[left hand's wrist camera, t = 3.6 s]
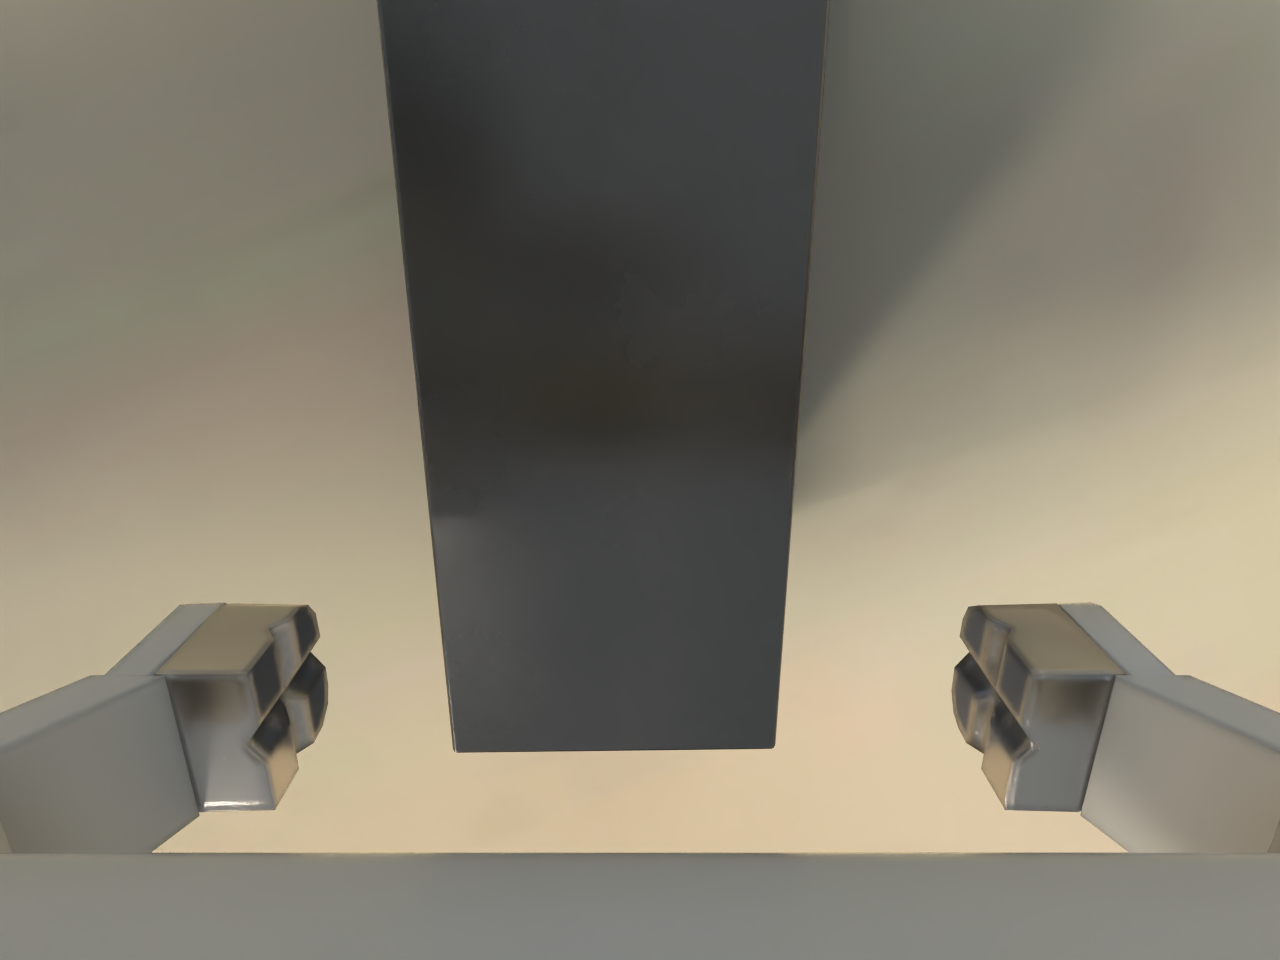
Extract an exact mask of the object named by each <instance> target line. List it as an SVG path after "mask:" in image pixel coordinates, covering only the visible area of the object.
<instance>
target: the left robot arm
mask: <svg viewBox="0 0 1280 960" xmlns="http://www.w3.org/2000/svg"><path fill="white" fill-rule="evenodd" d="M319 638H320V633H319V628H318V623H317V618H316V613H315V612H314V611H313V610H312V609H311V608H310V607H309V605H282V604H226V603H193V604H184V605H179V606H178V607H177V608H176V609H175V610H174V611H173V612H172V613H171V614H170V615H169V616H167V617H166V618H165V619H164V620H163V621H162V622H161V623H160V624H159V625H158V626H157V627H156V628H155V629H153V630H152V631H151V632H150V633H149V634H148V635H147V636H146V637H145V638H144V639H143V640H142V641H141V642H139V643H138V644H137V645H136V646H135V647H134V648H133V649H132V650H131V651H130V652H129V653H128V654H127V655H126V656H124V657H123V658H122V659H121V660H120V661H119V662H118V663H117V664H116V665H115V666H114V667H113V668H112V669H110V670H109V671H108V672H107V673H106V674H105V675H90V676H88V677H86V678H83V679H81V680H78V681H76V682H74V683H71V684H69V685H66V686H64V687H62V688H59V689H57V690H54V691H52V692H50V693H47V694H45V695H42V696H40V697H38V698H35V699H33V700H30V701H28V702H26V703H23V704H21V705H18V706H16V707H14V708H11V709H9V710H6V711H4V712H1V713H0V960H1280V713H1278V712H1276V711H1274V710H1271V709H1269V708H1266V707H1264V706H1262V705H1259V704H1257V703H1254V702H1252V701H1250V700H1247V699H1245V698H1242V697H1240V696H1238V695H1235V694H1233V693H1230V692H1228V691H1226V690H1223V689H1221V688H1218V687H1216V686H1214V685H1211V684H1209V683H1206V682H1204V681H1202V680H1199V679H1197V678H1194V677H1192V676H1190V675H1175V674H1174V673H1173V672H1172V671H1171V670H1170V669H1169V668H1168V667H1166V666H1165V665H1164V664H1163V663H1162V662H1161V661H1160V660H1159V659H1158V658H1157V657H1156V656H1155V655H1154V654H1152V653H1151V652H1150V651H1149V650H1148V649H1147V648H1146V647H1145V646H1144V645H1143V644H1142V643H1141V642H1140V641H1139V640H1137V639H1136V638H1135V637H1134V636H1133V635H1132V634H1131V633H1130V632H1129V631H1128V630H1127V629H1126V628H1125V627H1124V626H1122V625H1121V624H1120V623H1119V622H1118V621H1117V620H1116V619H1115V618H1114V617H1113V616H1112V615H1111V614H1110V613H1109V612H1107V611H1106V610H1105V609H1104V608H1103V607H1102V606H1100V605H1097V604H1094V603H1091V602H1090V603H1067V604H1019V605H978V606H971V607H968V609H967V611H966V613H965V615H964V618H963V621H962V627H961V632H960V638H961V639H962V641H963V642H964V644H965V645H966V647H967V649H968V650H969V653H968V654H967V655H966V656H965V657H964V658H963V659H962V660H961V661H960V662H959V663H958V664H957V665H956V666H955V668H954V676H953V683H952V700H953V711H954V715H955V718H956V722H957V725H958V728H959V730H960V732H961V734H962V735H963V737H964V739H965V741H966V743H967V744H969V745H971V746H972V747H974V748H975V749H977V750H979V751H980V752H982V753H983V754H984V756H983V762H982V767H981V769H982V771H983V773H984V774H985V776H986V778H987V779H988V781H989V783H990V785H991V786H992V788H993V790H994V792H995V793H996V795H997V797H998V798H999V800H1000V802H1001V804H1002V805H1003V807H1004V809H1005V810H1027V811H1063V812H1081V816H1082V817H1083V818H1085V819H1086V820H1087V821H1089V822H1090V823H1091V824H1093V825H1094V826H1095V827H1097V828H1098V829H1099V830H1100V831H1102V832H1103V833H1104V834H1106V835H1107V836H1108V837H1110V838H1111V839H1112V840H1114V841H1115V842H1116V843H1118V844H1119V845H1120V846H1122V847H1123V848H1124V849H1126V850H1127V851H1128V852H1129V853H151V852H152V851H153V850H155V849H156V848H157V847H159V846H160V845H161V844H163V843H164V842H165V841H167V840H168V839H169V838H171V837H172V836H173V835H175V834H176V833H177V832H179V831H180V830H181V829H182V828H184V827H185V826H186V825H188V824H189V823H190V822H192V821H193V820H194V819H196V818H197V817H198V816H199V812H216V811H251V810H275V809H276V807H277V805H278V804H279V802H280V800H281V799H282V797H283V795H284V793H285V792H286V790H287V788H288V786H289V785H290V783H291V781H292V780H293V778H294V776H295V774H296V773H297V771H298V769H299V767H298V762H297V756H296V754H297V753H298V752H300V751H301V750H303V749H305V748H306V747H308V746H309V745H311V744H313V743H314V741H315V739H316V737H317V735H318V734H319V732H320V730H321V728H322V726H323V722H324V717H325V713H326V709H327V705H328V681H327V674H326V668H325V666H324V665H323V664H322V663H321V662H320V661H319V660H318V659H317V658H316V657H315V656H314V655H313V654H312V653H311V650H312V649H313V647H314V645H315V644H316V642H317V641H318V639H319Z"/></svg>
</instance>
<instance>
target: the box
mask: <svg viewBox="0 0 1280 960" xmlns="http://www.w3.org/2000/svg"><path fill="white" fill-rule="evenodd" d="M377 8H378V18H379V27H380V37H381V47H382V57H383V67H384V76H385V86H386V96H387V106H388V116H389V125H390V135H391V145H392V155H393V165H394V174H395V184H396V194H397V204H398V214H399V224H400V233H401V243H402V253H403V263H404V273H405V282H406V292H407V302H408V312H409V322H410V331H411V341H412V351H413V361H414V371H415V380H416V390H417V400H418V410H419V420H420V430H421V439H422V449H423V459H424V469H425V479H426V488H427V498H428V508H429V518H430V528H431V537H432V547H433V557H434V567H435V577H436V586H437V596H438V606H439V616H440V626H441V635H442V645H443V655H444V665H445V675H446V685H447V694H448V704H449V714H450V724H451V734H452V743H453V749H454V751H455V752H457V753H463V752H544V751H625V750H706V749H772V748H774V746H775V741H776V727H777V714H778V700H779V687H780V673H781V660H782V646H783V633H784V619H785V606H786V592H787V579H788V565H789V551H790V538H791V524H792V511H793V497H794V484H795V470H796V457H797V443H798V430H799V416H800V402H801V389H802V375H803V362H804V348H805V335H806V321H807V308H808V294H809V281H810V267H811V254H812V240H813V226H814V213H815V199H816V186H817V172H818V159H819V145H820V132H821V118H822V105H823V91H824V77H825V64H826V50H827V37H828V23H829V10H830V0H377Z"/></svg>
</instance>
